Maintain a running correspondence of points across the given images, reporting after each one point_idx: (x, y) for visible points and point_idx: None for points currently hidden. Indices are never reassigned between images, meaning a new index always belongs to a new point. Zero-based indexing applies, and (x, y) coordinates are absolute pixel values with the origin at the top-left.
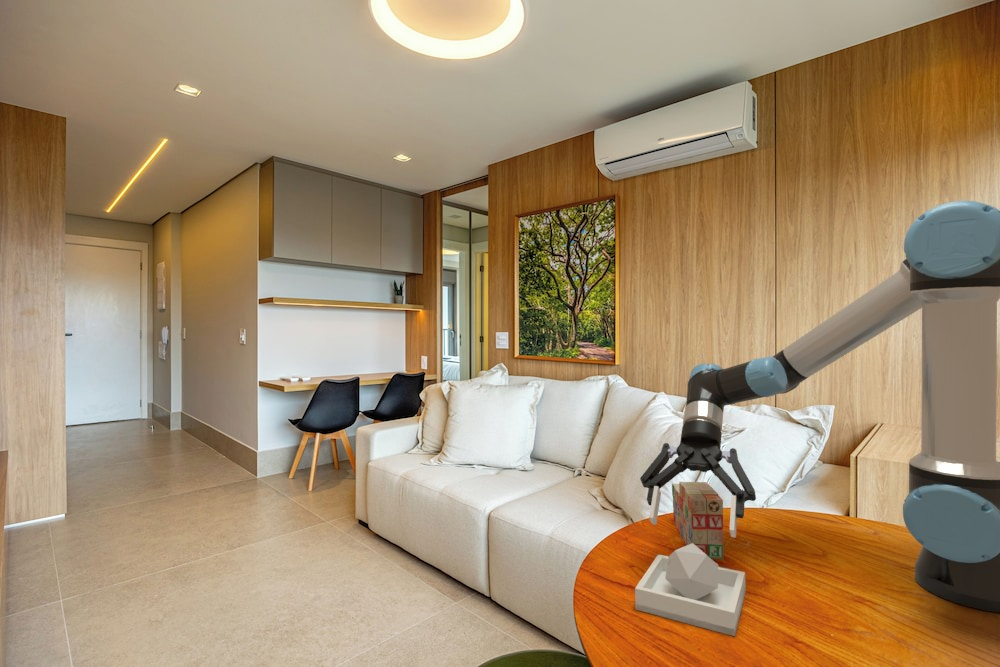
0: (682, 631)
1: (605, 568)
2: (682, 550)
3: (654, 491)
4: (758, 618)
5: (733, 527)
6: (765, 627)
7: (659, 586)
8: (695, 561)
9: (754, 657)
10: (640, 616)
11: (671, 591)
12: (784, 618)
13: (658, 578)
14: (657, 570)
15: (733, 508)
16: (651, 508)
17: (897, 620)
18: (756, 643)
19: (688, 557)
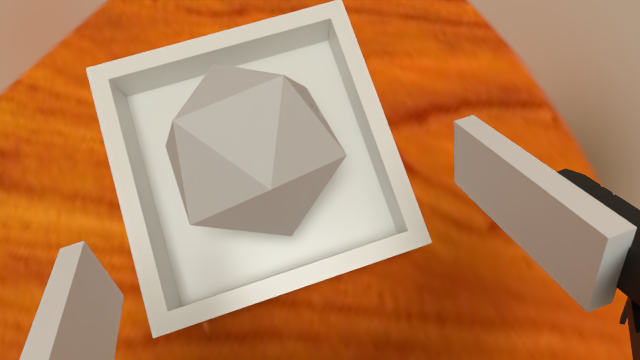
0: (211, 30)
1: (531, 153)
2: (263, 95)
3: (586, 199)
4: (98, 211)
5: (61, 259)
6: (71, 183)
7: (346, 139)
8: (206, 91)
9: (54, 50)
10: None
11: None
12: (45, 263)
13: (376, 180)
14: (381, 171)
15: (33, 354)
16: (500, 139)
17: None
18: (67, 102)
19: (231, 86)
